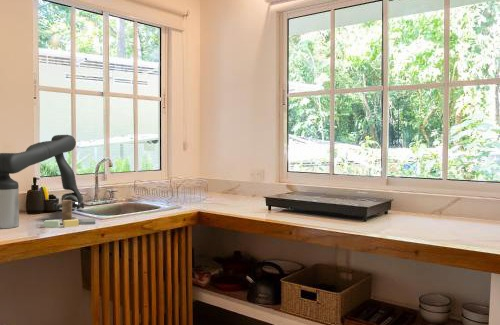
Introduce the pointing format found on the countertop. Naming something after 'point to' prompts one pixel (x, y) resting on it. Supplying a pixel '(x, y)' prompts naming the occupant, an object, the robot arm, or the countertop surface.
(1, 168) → the robot arm
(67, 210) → the walnut post
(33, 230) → the countertop surface
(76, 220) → the mustard brick
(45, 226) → the sage brick
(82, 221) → the slate coaster
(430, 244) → the countertop surface
